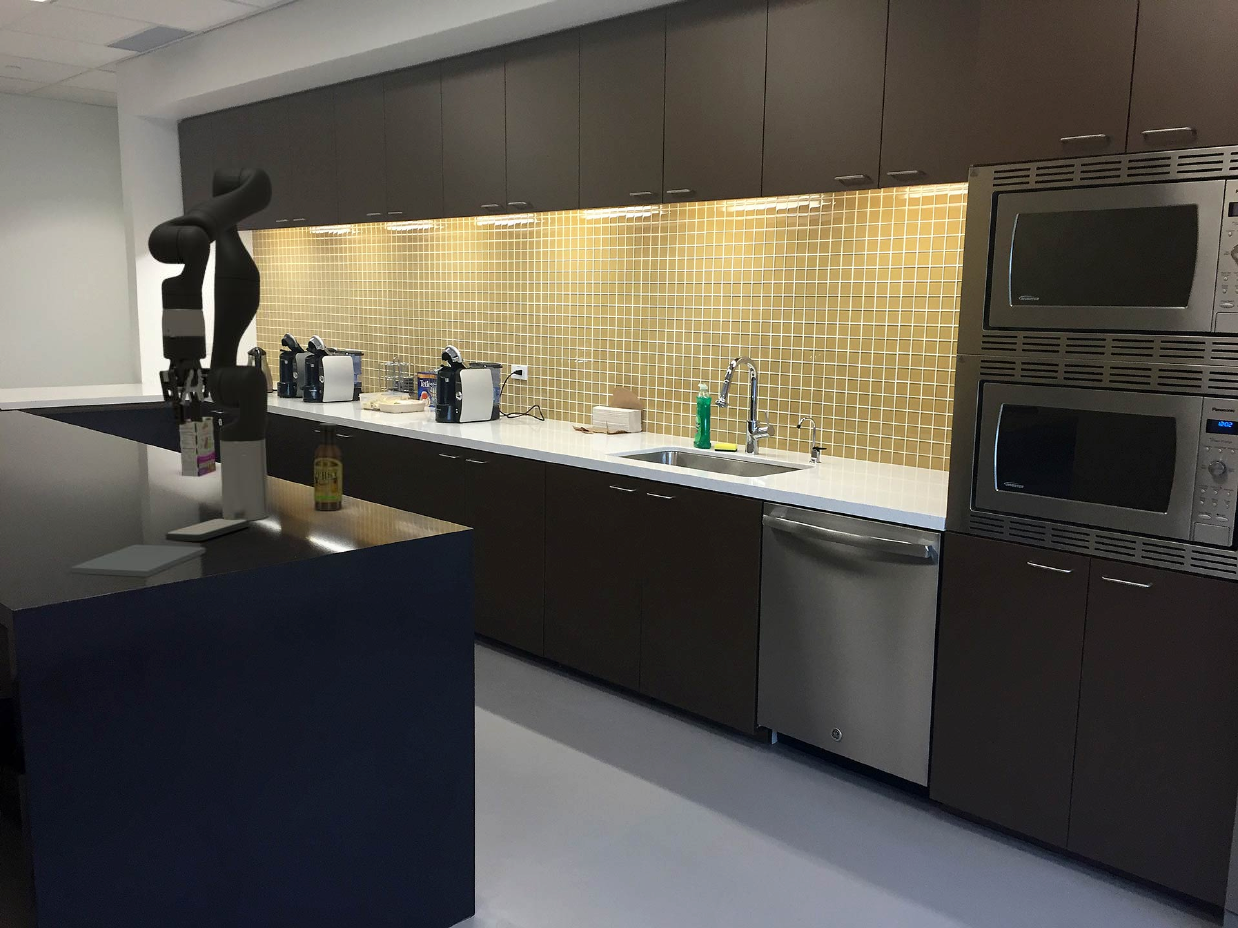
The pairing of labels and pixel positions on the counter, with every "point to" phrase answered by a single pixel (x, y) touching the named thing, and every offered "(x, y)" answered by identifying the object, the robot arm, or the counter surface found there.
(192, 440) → the candy bar box
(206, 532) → the smartphone
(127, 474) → the counter surface
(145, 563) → the mat
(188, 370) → the robot arm
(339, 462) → the sauce bottle
